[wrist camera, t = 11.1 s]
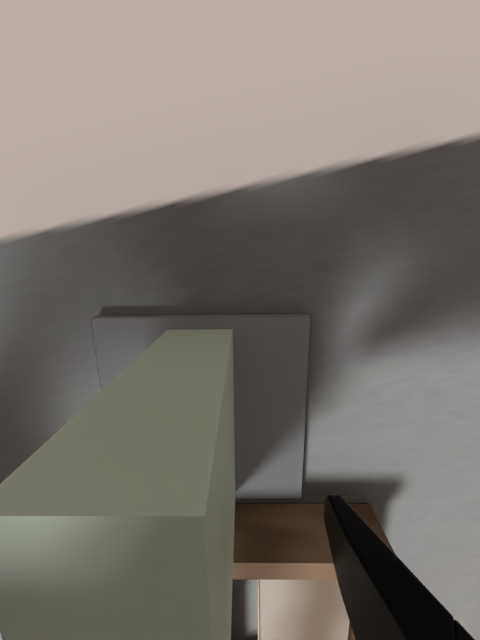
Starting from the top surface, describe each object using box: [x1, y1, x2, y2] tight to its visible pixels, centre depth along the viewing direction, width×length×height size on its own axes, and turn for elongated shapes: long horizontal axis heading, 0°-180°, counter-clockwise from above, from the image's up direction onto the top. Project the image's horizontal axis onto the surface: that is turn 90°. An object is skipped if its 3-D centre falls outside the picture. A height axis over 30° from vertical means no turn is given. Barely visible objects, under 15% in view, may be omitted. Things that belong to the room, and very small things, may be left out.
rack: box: [233, 504, 395, 640], centre depth 15 cm, size 14×13×3 cm
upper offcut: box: [259, 580, 350, 640], centre depth 15 cm, size 5×9×1 cm, turn 1°
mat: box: [91, 314, 310, 499], centre depth 13 cm, size 10×10×1 cm
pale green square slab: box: [0, 329, 235, 640], centre depth 9 cm, size 3×9×9 cm, turn 1°
